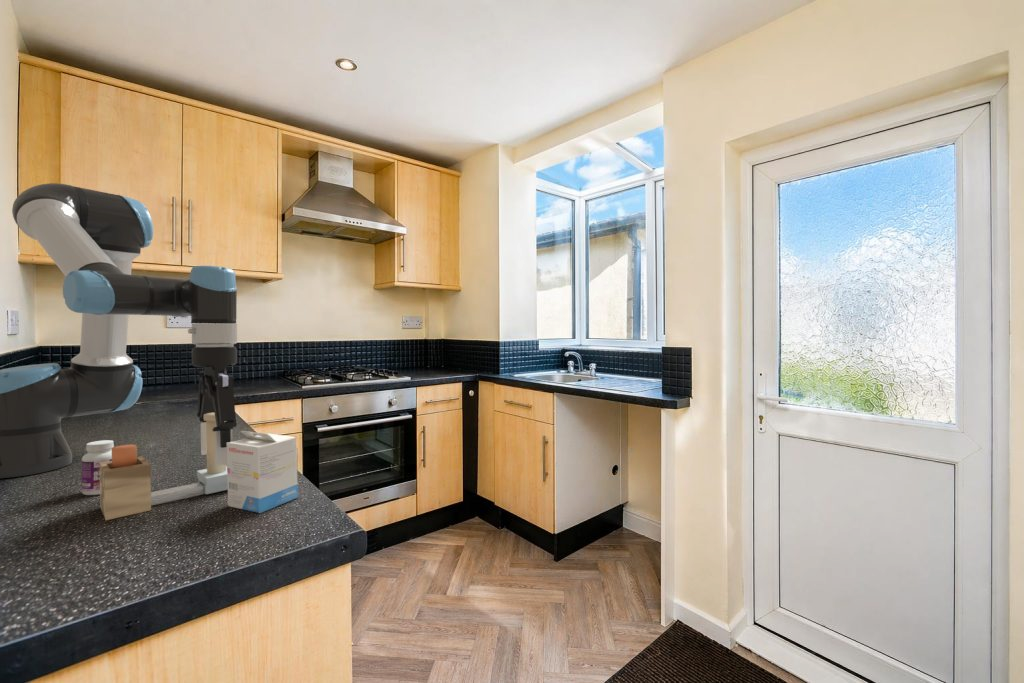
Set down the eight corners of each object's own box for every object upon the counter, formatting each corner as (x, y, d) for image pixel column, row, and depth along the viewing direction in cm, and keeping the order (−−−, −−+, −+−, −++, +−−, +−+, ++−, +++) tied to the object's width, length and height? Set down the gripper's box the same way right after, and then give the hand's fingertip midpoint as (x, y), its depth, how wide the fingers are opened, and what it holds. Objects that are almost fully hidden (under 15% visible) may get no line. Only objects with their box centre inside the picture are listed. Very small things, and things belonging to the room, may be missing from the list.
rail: (144, 499, 86) (143, 483, 86) (235, 480, 97) (235, 466, 97) (150, 508, 82) (149, 491, 82) (245, 487, 93) (244, 472, 93)
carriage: (197, 486, 92) (196, 413, 92) (225, 480, 96) (224, 410, 96) (206, 495, 88) (205, 418, 87) (236, 488, 91) (235, 414, 91)
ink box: (299, 498, 87) (298, 427, 87) (258, 514, 80) (257, 437, 79) (268, 491, 91) (267, 423, 90) (226, 506, 83) (225, 432, 83)
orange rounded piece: (110, 466, 81) (110, 447, 81) (135, 462, 84) (135, 443, 84) (113, 470, 79) (112, 450, 79) (138, 466, 82) (138, 446, 81)
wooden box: (100, 507, 82) (99, 462, 82) (143, 498, 87) (142, 456, 86) (105, 520, 77) (104, 472, 77) (151, 510, 81) (150, 464, 81)
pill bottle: (96, 497, 87) (95, 446, 87) (74, 494, 88) (73, 444, 88) (125, 487, 93) (124, 439, 92) (104, 485, 94) (103, 438, 93)
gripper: (178, 344, 96) (180, 451, 97) (208, 347, 81) (209, 474, 81) (220, 343, 102) (221, 445, 102) (255, 346, 86) (256, 465, 87)
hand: (216, 458), depth 92 cm, fingers open, 10 cm apart
